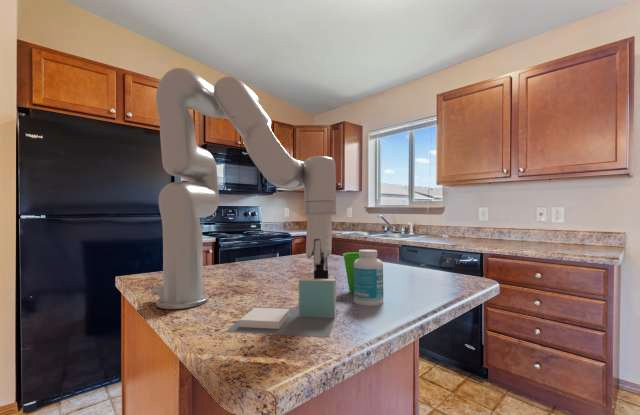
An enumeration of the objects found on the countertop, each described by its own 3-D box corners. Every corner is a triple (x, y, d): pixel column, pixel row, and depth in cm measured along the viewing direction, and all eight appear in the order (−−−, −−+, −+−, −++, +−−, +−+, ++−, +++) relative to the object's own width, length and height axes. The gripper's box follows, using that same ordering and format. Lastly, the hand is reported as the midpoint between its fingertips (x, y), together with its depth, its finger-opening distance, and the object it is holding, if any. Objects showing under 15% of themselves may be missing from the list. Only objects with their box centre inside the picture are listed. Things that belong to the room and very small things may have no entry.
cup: (379, 290, 92) (378, 253, 92) (366, 298, 84) (365, 257, 84) (351, 287, 96) (351, 251, 97) (337, 293, 89) (336, 255, 89)
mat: (225, 334, 59) (225, 331, 59) (255, 309, 75) (255, 306, 75) (328, 340, 56) (328, 337, 56) (338, 312, 72) (337, 309, 72)
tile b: (298, 316, 68) (298, 279, 68) (300, 314, 69) (299, 278, 69) (335, 318, 66) (334, 280, 66) (336, 315, 68) (335, 279, 68)
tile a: (254, 314, 69) (239, 327, 61) (254, 307, 69) (239, 319, 61) (289, 316, 68) (279, 329, 60) (289, 308, 68) (279, 321, 60)
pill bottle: (383, 308, 74) (382, 252, 75) (352, 307, 76) (351, 251, 76) (383, 300, 82) (382, 248, 82) (355, 299, 83) (354, 248, 83)
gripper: (310, 209, 82) (311, 279, 82) (297, 209, 67) (298, 294, 67) (339, 209, 81) (340, 280, 80) (332, 208, 66) (333, 295, 66)
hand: (321, 286), depth 74 cm, fingers closed
